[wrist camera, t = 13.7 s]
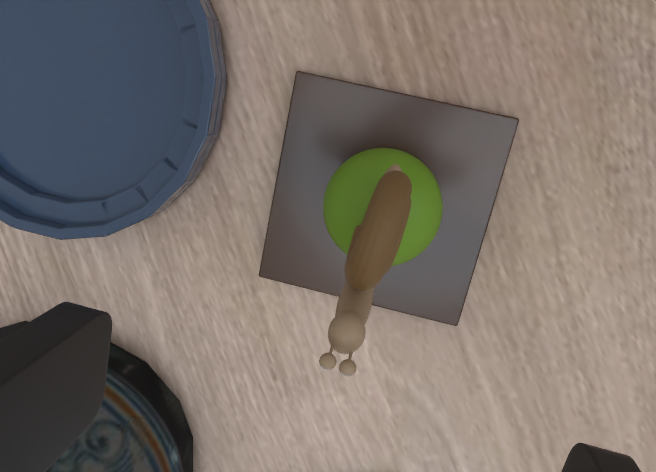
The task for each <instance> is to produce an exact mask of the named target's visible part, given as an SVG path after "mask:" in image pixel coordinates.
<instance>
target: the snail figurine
mask: <svg viewBox="0 0 656 472" xmlns="http://www.w3.org/2000/svg"><path fill="white" fill-rule="evenodd" d="M442 210H443V203H442V196H441V191H440V188H439V185H438V183H437V181H436V179H435V177H434V176H433V174H432V173H431V171H430V170H429V169H428V168H427V167H426V165H424V164H423V163H422V162H421V161H420V160H419V159H417V158H416V157H414V156H412V155H410V154H408V153H406V152H404V151H401V150H397V149H392V148H375V149H370V150H366V151H363V152H360V153H358V154H356V155H354V156H352V157H351V158H349V159H348V160H346V161H345V162H344V163H343V164H342V165H341V166H340V167H339V168H338V169H337V170H336V172H335V173H334V174H333V176H332V177H331V179H330V181H329V183H328V186H327V188H326V191H325V195H324V202H323V214H324V220H325V224H326V227H327V230H328V232H329V234H330V236H331V238H332V240H333V241H334V243H335V244H336V245H337V246H338V247H339V249H340V250H341V251H343V252H344V253H345V254H346V255H347V259H346V263H345V269H344V274H345V278H346V282H345V284H344V287H343V289H342V291H341V294H340V296H339V299H338V303H337V308H336V314H335V318H334V319H333V320H332V322H331V324H330V326H329V330H328V338H329V342H330V344H331V348H330V352H329V353H325V354H323V355H322V356H321V357H320V360H319V363H320V366H321V367H322V368H324V369H327V370H330V369H333V368H334V367H335V365H336V358H335V356H334V355H333V354H332V351H333V349H334V350H335V351H337V352H339V353H341V354H349V359H346V360H343V361H342V362H341V363H340V366H339V370H340V372H341V373H342V374H343V375H345V376H352V375H353V374H354V373H355V372H356V364H355V363H354V362H353V361H352V360H351V357H352V353H353V352H354V351H356V350H357V349H358V348H359V347H360V346H361V344H362V343H363V341H364V338H365V323H366V321H367V319H368V316H369V313H370V310H371V305H372V300H373V292H374V287H375V286H377V285H378V284H379V283H380V281H381V279H382V277H383V276H384V274H385V273H387V272H388V271H389V269H390V268H391V266H396V265H399V264H403V263H405V262H407V261H410V260H412V259H413V258H415V257H416V256H418V255H419V254H420V253H422V252H423V251H424V250H425V249H426V248H427V247H428V246H429V244H430V243H431V242H432V240H433V239H434V237H435V235H436V233H437V231H438V229H439V226H440V223H441V219H442Z"/></svg>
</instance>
